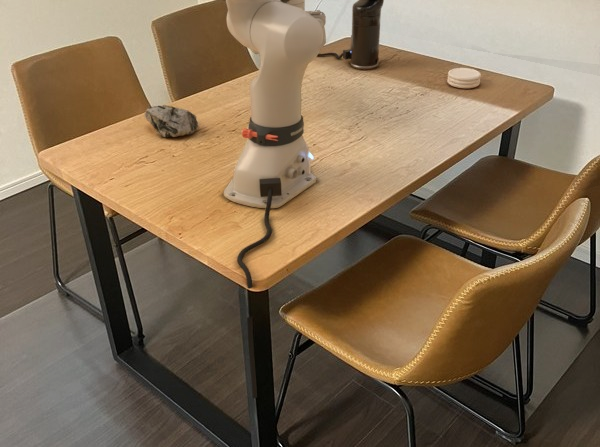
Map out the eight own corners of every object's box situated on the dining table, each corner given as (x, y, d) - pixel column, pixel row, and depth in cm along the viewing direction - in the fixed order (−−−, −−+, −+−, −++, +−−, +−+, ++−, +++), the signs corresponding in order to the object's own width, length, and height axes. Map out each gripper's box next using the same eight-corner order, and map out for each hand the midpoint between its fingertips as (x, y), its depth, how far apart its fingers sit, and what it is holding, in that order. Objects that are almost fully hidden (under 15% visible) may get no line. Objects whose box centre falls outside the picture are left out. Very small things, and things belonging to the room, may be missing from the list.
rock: (203, 130, 165) (200, 105, 161) (171, 142, 159) (167, 116, 155) (172, 117, 174) (168, 92, 171) (140, 127, 168) (136, 102, 165)
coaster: (442, 78, 197) (444, 68, 195) (473, 77, 198) (474, 66, 196) (452, 89, 189) (453, 78, 187) (484, 88, 189) (486, 77, 188)
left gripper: (321, 6, 163) (320, 58, 170) (245, 13, 157) (248, 67, 165) (330, 12, 158) (329, 65, 165) (252, 19, 152) (255, 74, 160)
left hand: (288, 66), depth 165 cm, fingers closed on bar, 6 cm apart
